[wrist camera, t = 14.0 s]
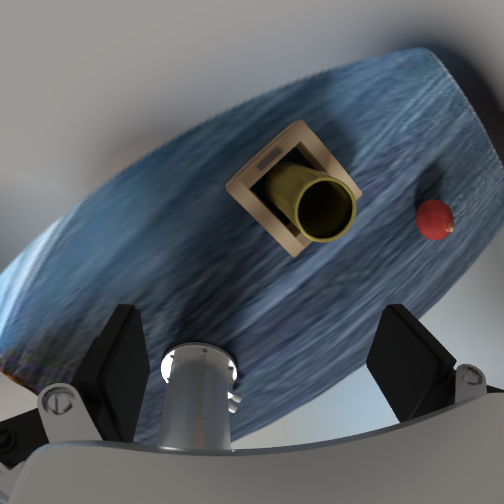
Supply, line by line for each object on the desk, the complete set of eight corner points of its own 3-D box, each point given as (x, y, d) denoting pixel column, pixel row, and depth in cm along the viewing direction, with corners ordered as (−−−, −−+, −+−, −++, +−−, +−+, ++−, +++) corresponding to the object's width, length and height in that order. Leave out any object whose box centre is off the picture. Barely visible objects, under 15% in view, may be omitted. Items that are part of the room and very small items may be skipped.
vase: (264, 210, 35) (287, 250, 22) (263, 161, 33) (288, 170, 20) (311, 208, 36) (358, 246, 22) (311, 161, 33) (363, 172, 20)
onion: (424, 187, 36) (459, 198, 28) (437, 216, 38) (470, 231, 30) (400, 209, 37) (433, 225, 29) (414, 238, 39) (445, 257, 31)
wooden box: (345, 187, 35) (363, 194, 30) (285, 243, 37) (294, 259, 32) (290, 122, 31) (302, 118, 27) (225, 183, 34) (225, 189, 29)
